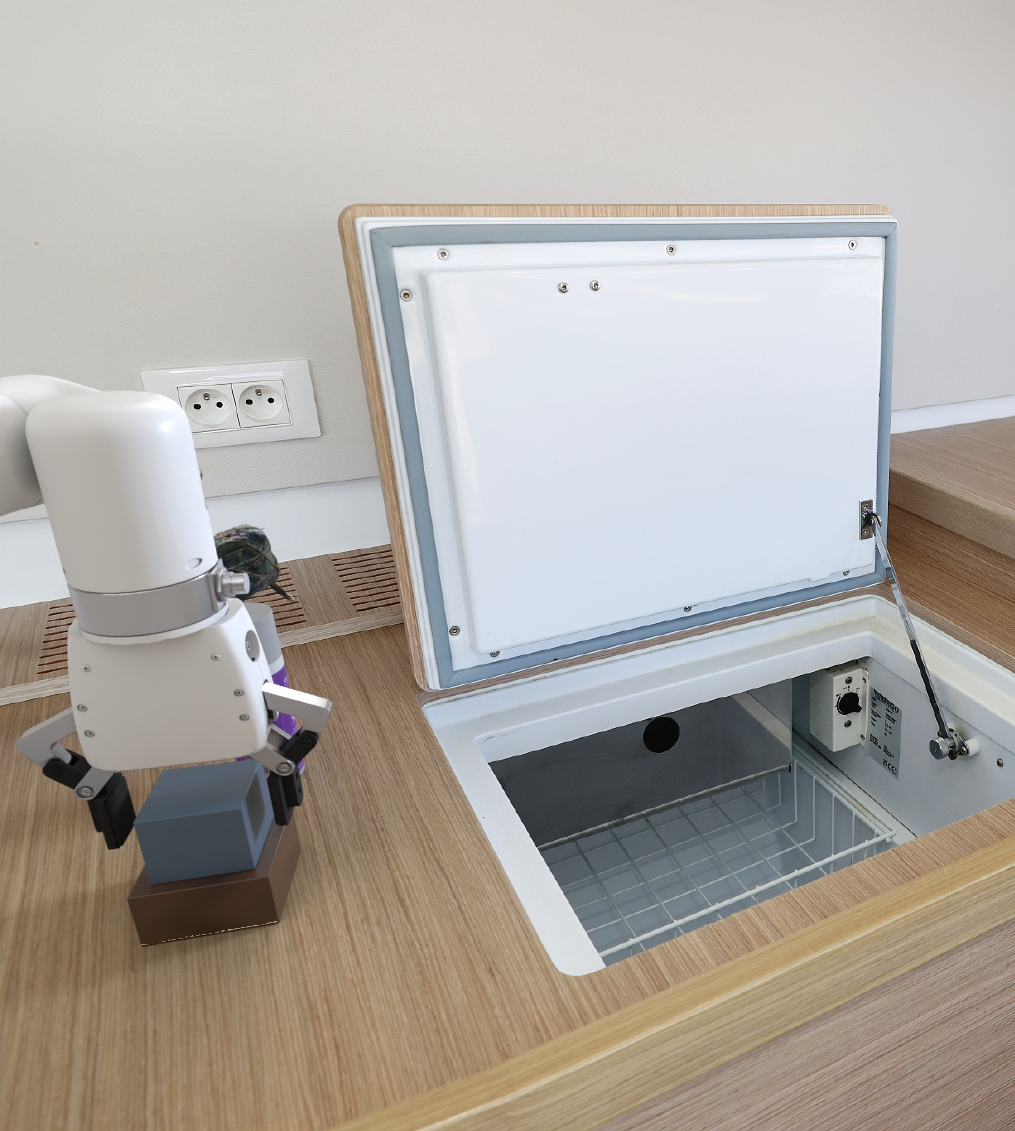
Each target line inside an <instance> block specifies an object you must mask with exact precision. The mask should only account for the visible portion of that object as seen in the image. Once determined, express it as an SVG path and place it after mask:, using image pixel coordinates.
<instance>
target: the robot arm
mask: <svg viewBox="0 0 1015 1131" xmlns="http://www.w3.org/2000/svg"><path fill="white" fill-rule="evenodd" d="M195 447H196V446H195V443H194V438H193V433H192V430H191V425H190V422H189V419H188V416H187V413H186V412H185V411H184V408H182V406H181V405H180V404H179V403H177V402H176V401H175V400H174V399H173V398H170V397H168V396H166V395H163V394H158V393H155V392H149V391H139V390H100V389H97V388H92V387H90V386H86V385H83V384H80V383H77V382H74V381H71V380H67V379H64V378H59V377H55V376H50V375H45V374H44V375H43V374H16V375H7V376H2V377H0V518H1V517H3V516H7V515H8V514H13V513H15V512H18V511H22V510H26V509H30V508H35V507H37V506H41V505H44V506H45V510H46V513H47V516H48V520H49V523H50V524H49V525H50V527H51V531H52V535H53V539H54V543H55V546H56V550H57V554H58V558H59V561H60V565H61V566H62V571H63V574H64V578H65V581H66V586H67V589H68V590H67V591H68V593H69V596H70V597H69V598H70V600H71V604H72V608H73V611H74V614H75V618H74V620H73V621H72V623H71V624H70V625H69V627H68V629H67V647H66V648H67V650H66V651H67V653H66V654H67V673H68V674H67V675H68V686H69V695H70V702H71V706H70V707H69V708H66V709H64V710H63V711H61V712H58V713H57V714H55V715H53V716H51V717H49V718H47V719H45V720H44V721H42V722H40V723H37V724H35V725H34V726H32V727H30V728H28V729H26V730H25V731H24V733H23V734H21V736H20V737H19V738H18V739H17V741H16V743H15V747H16V749H17V750H18V751H19V752H20V753H22V754H23V755H24V756H25V757H26V758H27V759H28V760H30V761H31V762H32V763H33V764H34V765H36V766H39V767H40V768H41V769H42V770H41V771H42V775H44V777H46V778H48V779H50V780H52V781H54V782H55V783H58V784H61V785H63V786H65V787H67V788H69V789H71V790H73V795H74V796H75V797H76V798H77V799H78V800H81V801H86V803H87V805H88V809H89V812H90V816H91V819H92V822H93V826H94V830H95V832H96V833H100V834H101V833H102V834H103V838H104V842H105V845H106V849H107V850H109V851H112V850H120V849H121V847H123V846H125V843H126V841H127V840H128V839H129V836H130V835H131V832H132V831H133V829H134V824H133V823H134V821H135V819H136V817H137V814H136V811H135V808H134V803H133V800H132V797H131V793H130V789H129V785H128V781H127V779H126V778H127V777H126V776H125V775H123V773H122V772H129V771H138V770H148V769H157V768H166V767H174V766H176V767H177V766H184V765H185V766H186V765H192V764H200V763H209V762H218V761H226V760H232V759H236V758H240V757H245V756H250V757H251V758H253V759H254V760H256V761H257V762H259V763H261V764H262V765H264V766H265V767H267V768H268V769H270V770H271V771H270V774H269V776H268V779H267V784H268V789H269V794H270V799H271V804H272V808H273V813H274V818H275V822H276V825H279V826H287V825H289V823H290V820H291V817H292V814H293V812H294V810H295V808H296V807H301V806H302V804H303V801H304V789H303V783H302V779H301V778H302V777H301V776H300V772H299V767H298V763H299V762H300V761H301V760H302V759H303V760H304V759H305V758H306V756H307V755H309V753H311V752H312V750H313V749H315V747H317V744H318V742H319V740H320V737H321V736H322V733H323V731H324V729H325V727H326V725H327V723H328V721H329V718H330V716H331V713H332V710H333V705H334V704H333V702H332V701H331V699H329V698H325V697H320V696H318V695H314V694H311V693H306V692H303V691H299V690H296V689H292V688H290V687H289V688H286V687H282V686H279V685H275V684H274V683H273V679H272V676H271V673H270V669H269V666H268V663H267V660H266V657H265V654H264V651H263V648H262V645H261V642H260V640H259V637H258V634H257V632H256V629H255V627H254V625H253V622H252V620H251V618H250V616H249V614H248V612H247V610H246V608H245V606H244V604H243V603H244V601H243V602H242V601H241V600H239V599H237V598H229V597H234V596H235V595H236V594H248V593H249V590H250V582H249V577H248V574H247V573H236V574H234V572H227V570H226V568H225V567H223V562H222V559H218V557H217V552H216V548H215V543H214V538H213V536H214V534H213V528H212V524H211V520H210V518H211V517H210V514H209V508H208V505H207V501H206V495H205V491H204V486H203V480H201V476H200V471H199V468H200V466H199V463H198V462H199V461H198V457H197V452H196V448H195ZM279 712H280V713H284V714H288V715H291V716H295V718H299V719H301V720H302V721H303V724H302V726H301V727H300V728H299V729H297V730H298V731H297V732H296V733H295V734H294V735H293V736H290V735H289V734H287V733H286V732H284V731H283V730H281V729H280V728H278V727H277V726H275V725H274V724H272V723H271V722H273V721H277V719H278V715H279ZM74 733H77V737H78V742H79V745H80V748H81V751H82V753H83V755H81V754H80V753H77V752H75V751H73V750H71V749H68V748H64V747H63V744H62V743H61V742H60V741H61V740H63V739H65V738H66V737H68V736H71V735H72V734H74Z"/></svg>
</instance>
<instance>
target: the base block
mask: <svg viewBox="0 0 1015 1131" xmlns="http://www.w3.org/2000/svg"><path fill="white" fill-rule="evenodd" d="M301 850H302V847H301V841H300V837H299V832H298V827H297V823H296V817H295V813H294V811H293V814H292V817H291V820H290V823H289V825H287V826H279V825H276V822H275V818H274V817H273V820H272V823H271V826H270V828H269V831H268V834H267V837H266V840H265V842H264V845H263V848H262V851H261V854H260V857H259V859H258V862H257V865H256V868H255V869H253V870H247V871H240V872H233V873H227V874H220V875H214V876H207V877H201V878H194V879H188V880H181V881H175V882H168V883H162V884H155V885H151V883H150V880H149V876H148V873H147V870H146V866H145V864H144V865H143V867H142V869H141V871H140V873H139V875H138V877H137V879H136V881H135V883H134V884H133V887H132V888H131V890H130V893H129V894H128V896H127V897H126V898H127V899H126V900H127V904H128V907H129V910H130V914H131V916H132V920H133V923H134V927H135V930H136V933H137V937H138V941H139V943H140V945H141V944H153V943H159V942H162V941H168V940H169V939H170V940H172V939H179V938H185V937H186V936H187V937H190V936H192V935H193V936H196V935H199V934H200V935H202V934H209V933H215V932H218V931H219V932H221V931H222V930H225V931H227V930H228V929H235V928H241V927H247V926H253V925H262V924H266V923H269V922H274V921H278V920H279V919H280V920H281V918H280V915H281V916H282V914H283V911H282V909H283V910H284V908H283V906H284V907H285V904H286V901H285V899H286V900H287V898H288V893H289V890H290V887H291V884H292V880H293V877H294V873H295V870H296V867H297V865H298V861H299V857H300V854H301ZM286 897H287V898H286ZM284 903H285V904H284ZM281 913H282V914H281ZM159 944H160V943H159ZM153 945H154V944H153Z"/></svg>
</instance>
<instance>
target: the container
mask: <svg viewBox="0 0 1015 1131" xmlns="http://www.w3.org/2000/svg"><path fill="white" fill-rule="evenodd" d="M243 604H244V606H245V608H246V610H247V612H248V614H249V616H250V618H251V620H252V622H253V625H254V627H255V629H256V632H257V634H258V637H259V640H260V642H261V645H262V648H263V651H264V654H265V657H266V660H267V663H268V666H269V669H270V673H271V676H272V679H273V683H274V684H275V685H279V686H282V687H286V688H289V689H290V685H289V679H288V674H287V670H286V669H287V668H286V664H285V660H284V656H283V652H282V648H281V642H280V639H279V635H278V631H277V626H276V622H275V618H274V613H273V609H272V607H271V606H270V605H268V604H266V603H262V602H243ZM271 723H272V724H274V725H275V726H277V727H278V728H280V729H281V730H283V731H284V732H286V733H287V734H289V735H290V736H293V735H294V734H295V733H296V732H297V731H298V730H299V729H298V726H297V720H296V717H295V716H291V715H288V714H284V713H280V712H279V715H278V719H277V721H273V722H271ZM251 759H253V758H251V757H250V756H245V757H240V758H235V761H243V760H251ZM304 760H305V759H304V758H303V759H302V760H301V761H300V762H299V763H298V767H299V772H300V777H301V776H302V775H303V774H304V771H305V769H306V768H305V761H304ZM263 767H264V771H265V776H266V781H267V779H268V776H269V774H270V771H271V770H270V769H268V768H267V767H265V766H264V765H263ZM267 785H268V784H267ZM268 790H269V789H268Z"/></svg>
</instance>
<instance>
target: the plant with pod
mask: <svg viewBox="0 0 1015 1131" xmlns="http://www.w3.org/2000/svg"><path fill="white" fill-rule="evenodd" d="M199 471H200V476H201V481H203V474H204V473H203V470H202V469H201V468H200V467H199ZM264 529H265V527H263V528H260V527H257V526H254V525H251V524H248V523H247V524H246V523H244V524H243V523H242V524H239V525H237V526H234V527H231V528H229V529H226V530H224V531H219V532H217V533H215V534H214V535H213V538H214V543H215V548H216V552H217V557H218V559H222V562H223V567H225V568H226V570H227V572H234V574H236V573H247V574H248V577H249V582H250V590H249V593H248V594H236V595H235V596H234V597H229V598H237V599H239V600H241V601H242V602H243V603H244V602H245V601H247V600H249V599H250V598H251V597H253V596H254V595H255V594H257V593H261V592H264V591H265V590H267V589H268V588H269V587H270V589H271V590H273V591H274V592H276V593H277V594H278V595H280V596H281V597H283V598H284V599H286V600H287V601H289V602H292V603H294V602H295V598H294V597H293V595H291V594H289V593H287V591H286V590H285V589H284V588H282V587H281V586H280V585H278V584H277V581H278V579H279V578H280V576H281V571H282V570H281V566H279V563H278V562H279V561H278V559H277V557H276V554H274V552H273V551H272V544H271V543H270V540H269V538H268V536H267V534H266V533H265V532H264V531H263V530H264Z"/></svg>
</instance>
